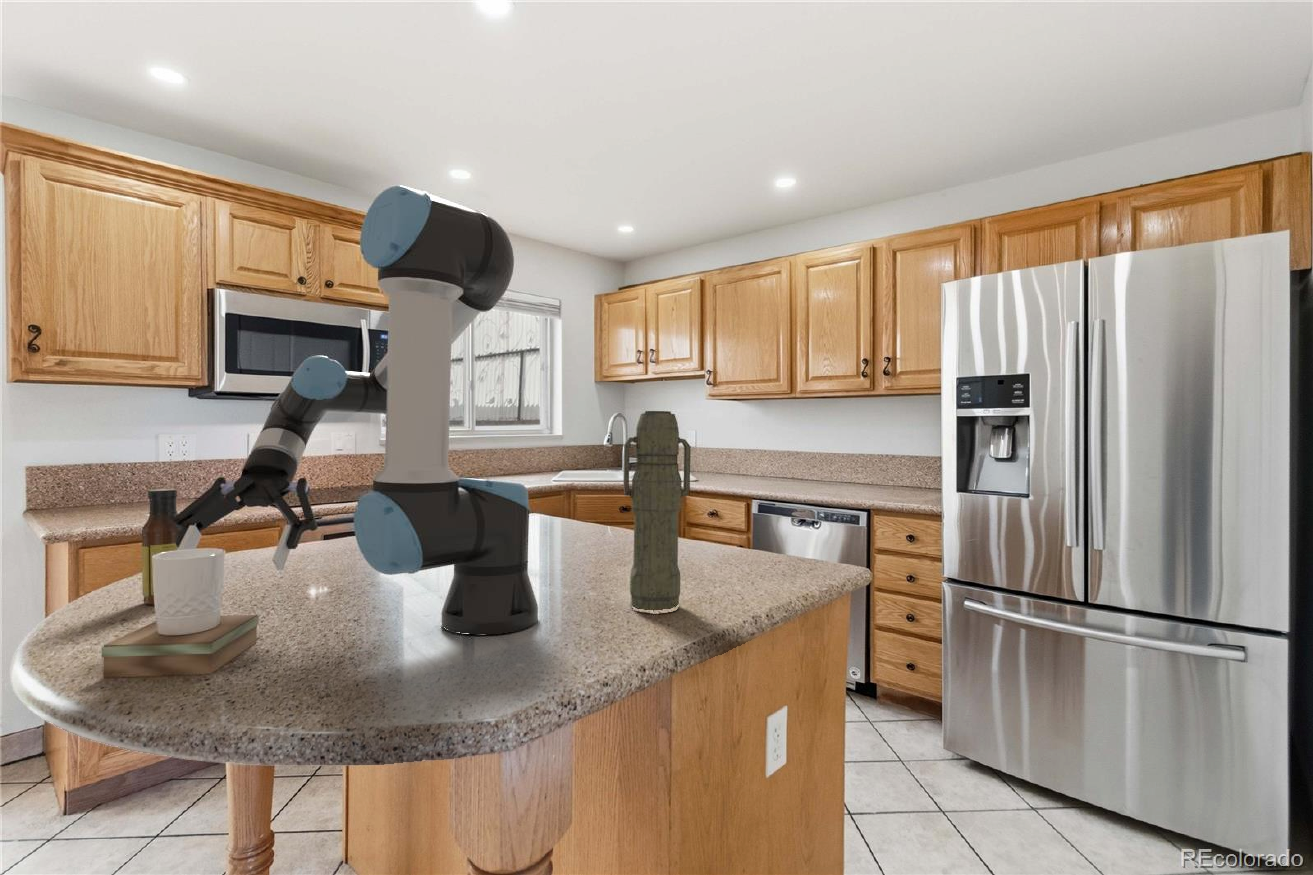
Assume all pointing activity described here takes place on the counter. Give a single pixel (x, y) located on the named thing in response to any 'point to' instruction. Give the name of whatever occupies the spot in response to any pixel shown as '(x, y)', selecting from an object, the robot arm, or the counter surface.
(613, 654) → the counter surface
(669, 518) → the thermos
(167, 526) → the sauce bottle
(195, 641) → the walnut block
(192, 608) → the white cup
